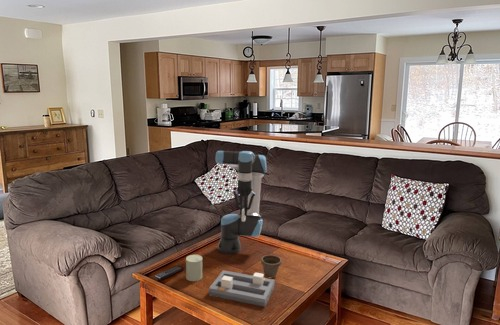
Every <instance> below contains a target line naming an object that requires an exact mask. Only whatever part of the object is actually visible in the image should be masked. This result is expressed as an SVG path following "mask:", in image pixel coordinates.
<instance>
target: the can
mask: <svg viewBox="0 0 500 325" xmlns="http://www.w3.org/2000/svg"><path fill="white" fill-rule="evenodd" d="M185 270H186V271H185V279H186V280H188V281H190V282H198V281H200V280H202V279H203V256H201V255H200V254H190V255H187V256H186V258H185Z"/></svg>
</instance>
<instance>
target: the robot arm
mask: <svg viewBox="0 0 500 325" xmlns="http://www.w3.org/2000/svg"><path fill="white" fill-rule="evenodd" d="M214 159H215V163H216V164H218V165H226V166H229V167H230V168H231V169H234V170H237V188H236V189H234V191H232V194H233V196H234V199H235V204H236V209H239V214H238V213H228V214H225V215H223V216H222V217H221V219H220V240H219V242H218V245H217V250H218V252H220V253H221V254H225V255H234V254H235V255H236V254H238V253H239V252H241V251H242V245H241V241H240V239H239V238H240V237H251V238H258V237H259V236H260V235H261V231H262V229H263V222H264V219H263V218H262V216H261V215H260V200H261V192H262V191H261V190H262V179H263V177H264V176H265V174H266V173H267V166H268V165H267V158H266V156H265V155H263V154H254V152H253V151H250V150H242V151H232V150H231V151H229V150H217V151H216V152H215V158H214ZM240 216H241V217H240Z"/></svg>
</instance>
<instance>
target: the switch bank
mask: <svg viewBox="0 0 500 325" xmlns="http://www.w3.org/2000/svg"><path fill="white" fill-rule="evenodd" d="M223 276H229V277H233V288H232V289H228V288H223V287H221V279H222V278H223ZM275 285H276V280H275V279H274V278H273V279H272V278H268V277H264V284H263V286H262V285H257V284H253V275H251V274H245V273H240V272H235V271H230V270H224V269H223V270H222V271H221V272H220V273H219V274H218V276H217V278H215V279H214V282H213V283H212V284H211V285H210V286H209V287H208V296H211V297H216V298H221V299H225V300H229V301H230V300H231V301H236V302H240V303H245V304H250V305H255V306H260V307H263V308H265V307H266V306H267V303H268V302H269V299H270V297H271V295H272V293H273V291H274V289H275Z"/></svg>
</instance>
